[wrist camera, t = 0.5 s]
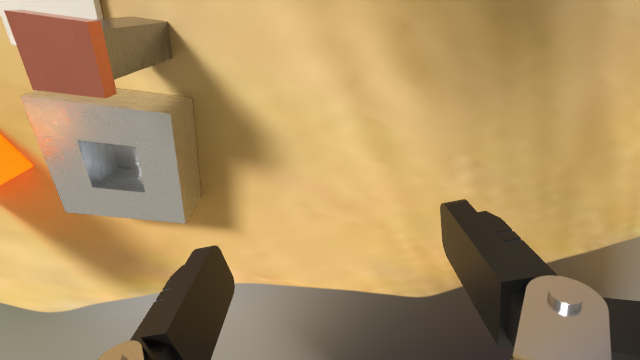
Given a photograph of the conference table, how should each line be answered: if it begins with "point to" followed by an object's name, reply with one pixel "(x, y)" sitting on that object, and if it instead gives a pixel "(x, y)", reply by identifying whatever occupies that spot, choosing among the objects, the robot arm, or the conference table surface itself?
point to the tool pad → (52, 9)
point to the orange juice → (11, 161)
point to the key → (85, 50)
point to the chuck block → (119, 152)
